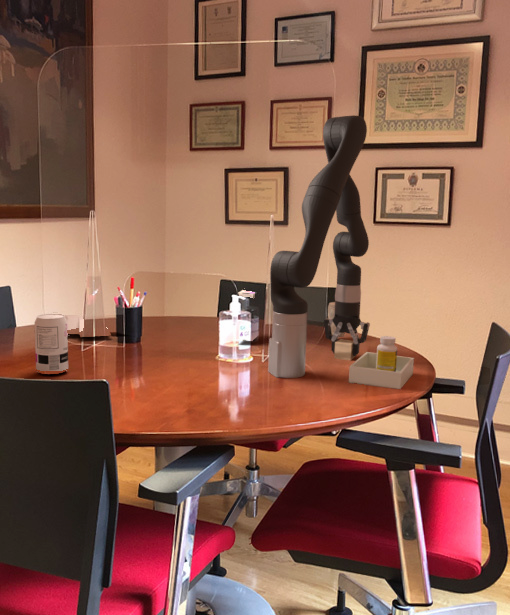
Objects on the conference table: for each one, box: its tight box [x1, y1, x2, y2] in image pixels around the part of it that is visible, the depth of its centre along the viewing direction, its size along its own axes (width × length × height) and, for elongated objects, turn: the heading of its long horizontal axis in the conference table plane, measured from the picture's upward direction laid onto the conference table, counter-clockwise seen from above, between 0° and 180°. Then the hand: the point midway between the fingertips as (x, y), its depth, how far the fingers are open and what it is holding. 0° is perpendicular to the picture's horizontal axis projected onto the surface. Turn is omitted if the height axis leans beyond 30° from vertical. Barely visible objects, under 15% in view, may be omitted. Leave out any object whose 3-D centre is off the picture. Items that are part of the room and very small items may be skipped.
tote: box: [348, 351, 415, 390], centre depth 165 cm, size 17×13×5 cm
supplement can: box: [33, 313, 69, 371], centre depth 164 cm, size 8×8×15 cm
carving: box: [327, 301, 346, 338], centre depth 215 cm, size 6×8×12 cm
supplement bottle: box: [376, 335, 398, 372], centre depth 168 cm, size 5×5×10 cm
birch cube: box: [333, 338, 356, 361], centre depth 187 cm, size 5×5×5 cm
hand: (344, 354), depth 188 cm, fingers open, 5 cm apart
